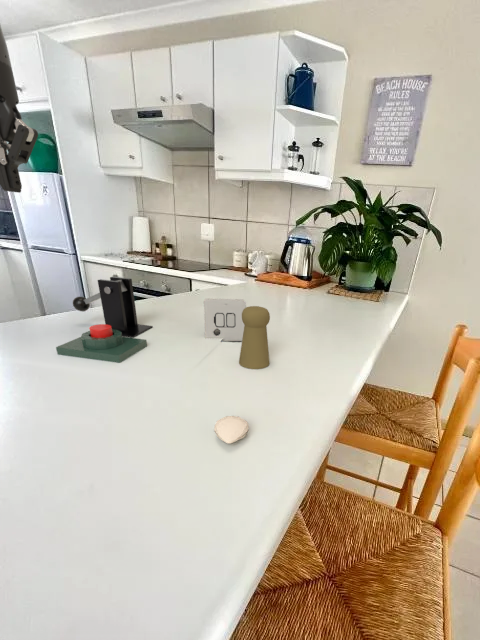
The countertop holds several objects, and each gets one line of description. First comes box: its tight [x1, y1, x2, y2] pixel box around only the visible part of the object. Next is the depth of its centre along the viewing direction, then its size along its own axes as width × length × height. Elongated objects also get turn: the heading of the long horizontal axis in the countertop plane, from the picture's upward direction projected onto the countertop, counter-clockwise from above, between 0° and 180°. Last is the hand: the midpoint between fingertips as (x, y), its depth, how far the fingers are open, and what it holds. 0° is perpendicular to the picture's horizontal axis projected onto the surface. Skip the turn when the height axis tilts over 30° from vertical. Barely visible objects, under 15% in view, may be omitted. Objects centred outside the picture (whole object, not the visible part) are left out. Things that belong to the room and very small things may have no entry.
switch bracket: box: [97, 276, 154, 338], centre depth 70 cm, size 10×8×12 cm
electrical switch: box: [203, 297, 247, 342], centre depth 73 cm, size 9×5×9 cm, turn 102°
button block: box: [55, 329, 148, 364], centre depth 61 cm, size 12×9×4 cm
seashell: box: [213, 415, 249, 445], centre depth 40 cm, size 4×5×2 cm
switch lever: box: [72, 280, 127, 312], centre depth 70 cm, size 13×3×3 cm, turn 82°
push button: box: [88, 323, 113, 338], centre depth 60 cm, size 4×4×2 cm
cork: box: [238, 305, 271, 370], centre depth 61 cm, size 6×6×11 cm
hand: (12, 191), depth 56 cm, fingers closed
